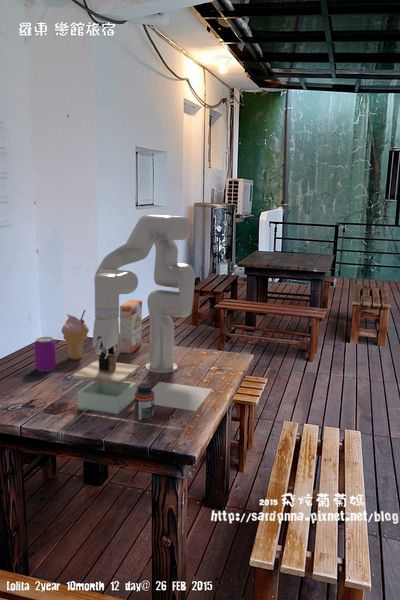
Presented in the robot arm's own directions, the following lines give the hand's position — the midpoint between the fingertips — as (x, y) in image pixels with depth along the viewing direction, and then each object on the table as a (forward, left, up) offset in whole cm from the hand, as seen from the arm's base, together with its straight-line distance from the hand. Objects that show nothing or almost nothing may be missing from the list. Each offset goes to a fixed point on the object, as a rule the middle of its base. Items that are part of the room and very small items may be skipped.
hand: (107, 367), depth 169 cm
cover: (0, 0, -2) cm, 2 cm away
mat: (-14, +19, -13) cm, 27 cm away
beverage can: (-23, -38, -13) cm, 46 cm away
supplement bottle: (+6, +16, -13) cm, 21 cm away
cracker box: (-59, -18, -13) cm, 63 cm away
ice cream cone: (-39, -34, -13) cm, 53 cm away
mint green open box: (0, 0, -13) cm, 13 cm away
